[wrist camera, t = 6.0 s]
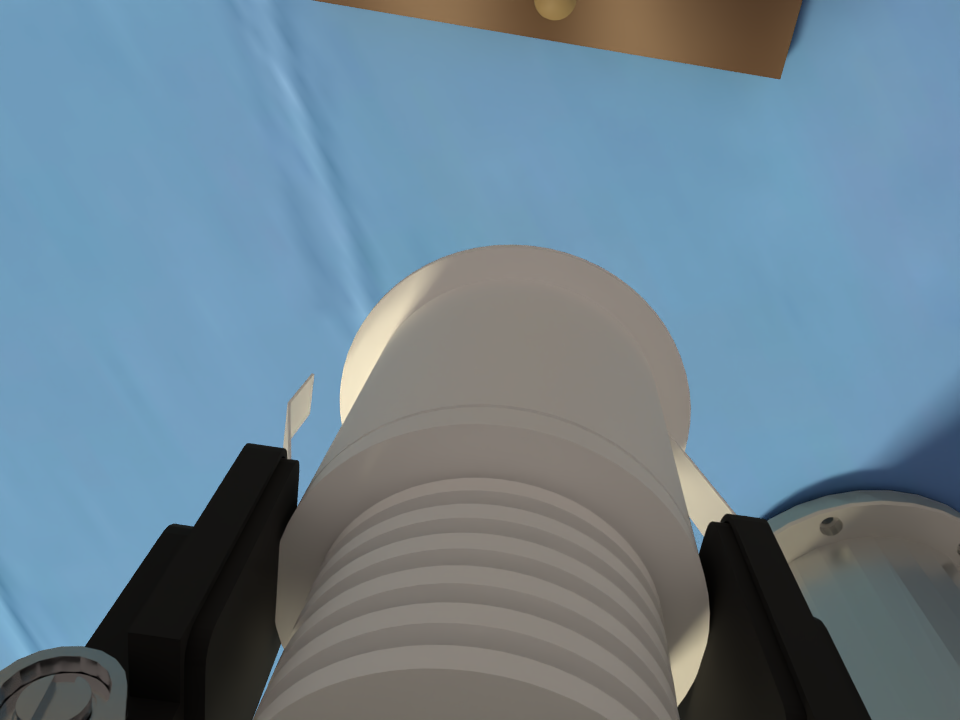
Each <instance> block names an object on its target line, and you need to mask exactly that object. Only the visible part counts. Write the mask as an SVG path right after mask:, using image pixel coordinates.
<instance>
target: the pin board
mask: <svg viewBox="0 0 960 720" xmlns="http://www.w3.org/2000/svg"><path fill="white" fill-rule="evenodd" d="M314 1H320V2H326V3H332V4H338V5H344V6H350V7H355V8H361V9H367V10H373V11H379V12H385V13H391V14H397V15H403V16H409V17H415V18H421V19H426V20H432V21H438V22H444V23H450V24H456V25H462V26H468V27H474V28H480V29H486V30H491V31H497V32H503V33H509V34H515V35H521V36H527V37H533V38H539V39H545V40H551V41H557V42H562V43H568V44H574V45H580V46H586V47H592V48H598V49H604V50H610V51H616V52H622V53H627V54H633V55H639V56H645V57H651V58H657V59H663V60H669V61H675V62H681V63H687V64H693V65H698V66H704V67H710V68H716V69H722V70H728V71H734V72H740V73H746V74H752V75H758V76H764V77H769V78H775V79H780V78H781V74H782V71H783V67H784V64H785V60H786V57H787V53H788V50H789V46H790V43H791V39H792V36H793V32H794V28H795V25H796V21H797V18H798V14H799V11H800V7H801V4H802V0H314Z"/></svg>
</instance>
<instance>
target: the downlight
mask: <svg viewBox="0 0 960 720" xmlns="http://www.w3.org/2000/svg"><path fill="white" fill-rule="evenodd" d="M313 381H314V374H311V375H310V376H309V378H308V379H307V380H306V381H305V383H304V384H303V385H302V386H301V387H300V389H299V390H298V391H297V392H296V393H295V395H294V396H293V397H292V398H291V399H290V401H289V402H288V406H287V416H286V425H285V435H284V445H283V448H285V449H286V450H287V459H291V438H292V437H293V436H294V434H295V433H296V432H297V430H298V429H299V428H300V426H301V425H302V424H303V422H304V421H305V420H306V418H307V417H308V416H309V414H310V407H311V398H312V389H313ZM690 411H691V405H690V393H689V386H688V381H687V376H686V372H685V369H684V366H683V363H682V359H681V357H680V354H679V352H678V349H677V347H676V345H675V343H674V340H673V339H672V337H671V335H670V333H669V332H668V330H667V328H666V326H665V325H664V323H663V322H662V321H661V319H660V318H659V316H658V315H657V314H656V312H655V311H654V310H653V309H652V308H651V307H650V306H649V304H648V303H647V302H646V301H645V300H644V299H643V298H642V297H641V296H640V295H639V294H638V293H637V292H635V291H634V290H633V289H632V288H631V287H630V286H629V285H627V284H626V283H624V282H623V281H622V280H620V279H619V278H618V277H616V276H615V275H613V274H611V273H610V272H608V271H606V270H605V269H603V268H601V267H599V266H597V265H595V264H593V263H591V262H589V261H587V260H585V259H582V258H579V257H576V256H574V255H571V254H568V253H565V252H561V251H557V250H553V249H549V248H542V247H536V246H526V245H493V246H486V247H479V248H473V249H469V250H465V251H461V252H457V253H454V254H451V255H448V256H446V257H443V258H440V259H438V260H436V261H434V262H431V263H429V264H427V265H425V266H423V267H422V268H420V269H418V270H417V271H415V272H413V273H412V274H410V275H409V276H407V277H406V278H405V279H403V280H402V281H400V282H399V283H398V284H397V285H395V286H394V287H393V288H392V289H391V290H390V291H389V292H388V293H387V294H386V295H384V297H383V298H382V299H381V300H380V301H379V302H378V303H377V305H376V306H375V307H374V308H373V309H372V311H371V312H370V314H369V315H368V316H367V318H366V319H365V321H364V322H363V324H362V325H361V327H360V329H359V331H358V333H357V334H356V336H355V338H354V340H353V343H352V345H351V347H350V350H349V352H348V355H347V359H346V362H345V365H344V369H343V375H342V380H341V390H340V414H341V421H342V426H341V428H340V430H339V432H338V434H337V435H336V437H335V439H334V441H333V443H332V444H331V446H330V448H329V450H328V452H327V454H326V455H325V457H324V459H323V461H322V463H321V465H320V466H319V468H318V470H317V472H316V474H315V476H314V477H313V479H312V481H311V483H310V485H309V487H308V488H307V490H306V492H305V494H304V496H303V497H302V499H301V501H300V503H299V505H298V507H297V508H296V510H295V512H294V514H293V515H292V517H291V519H290V521H289V522H288V524H287V526H286V529H285V531H284V533H283V536H282V538H281V540H280V546H279V563H278V580H277V597H276V614H275V624H276V628H277V631H278V634H279V638H280V641H281V644H282V646H283V648H284V651H283V653H282V655H281V657H280V660H279V662H278V664H277V666H276V668H275V671H274V673H273V675H272V677H271V680H270V682H269V684H268V687H267V690H266V692H265V694H264V696H263V698H262V700H261V702H260V704H259V707H258V709H257V711H256V713H255V716H254V718H253V720H680V717H679V713H678V709H677V707H678V705H679V704H680V703H681V701H682V700H683V699H684V697H685V696H686V694H687V692H688V691H689V689H690V687H691V686H692V684H693V682H694V680H695V678H696V675H697V673H698V670H699V667H700V664H701V660H702V657H703V654H704V651H705V648H706V645H707V640H708V634H709V620H710V609H709V596H708V591H707V586H706V581H705V576H704V572H703V569H702V565H701V561H700V558H699V554H698V550H697V546H696V542H695V538H694V534H693V530H692V526H691V522H690V518H691V519H692V521H693V522H694V524H695V525H696V526H697V528H698V529H699V530H700V532H701V533H702V534H703V536H704V535H705V532H706V529H707V526H708V525H709V523H710V522H712V521H714V522H720V521H721V519H722V517H723V516H724V515H725V514H734V515H736V514H735V513H734V511H733V510H732V509H731V508H730V506H729V505H728V504H727V503H726V502H725V500H724V499H723V498H722V497H721V495H720V494H719V493H718V492H717V491H716V489H715V488H714V487H713V486H712V484H711V483H710V482H709V481H708V480H707V478H706V477H705V476H704V475H703V473H702V472H701V471H700V470H699V469H698V467H697V466H696V465H695V464H694V462H693V461H692V460H691V459H690V458H689V456H688V455H687V454H686V453H685V447H686V444H687V440H688V434H689V427H690ZM689 517H690V518H689Z"/></svg>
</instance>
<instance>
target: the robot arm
mask: <svg viewBox="0 0 960 720" xmlns="http://www.w3.org/2000/svg"><path fill="white" fill-rule="evenodd" d="M298 482H299V461H298V460H292V459H287V450H286V449H285V448H278V447H272V446H265V445H258V444H251V443H247V444H246V445H245V446H244V448H243V449H242V451H241V452H240V454H239V456H238V457H237V459H236V460H235V462H234V463H233V465H232V467H231V468H230V470H229V471H228V473H227V475H226V476H225V478H224V479H223V481H222V483H221V484H220V486H219V487H218V489H217V491H216V492H215V494H214V495H213V497H212V498H211V500H210V502H209V503H208V505H207V506H206V508H205V510H204V511H203V513H202V514H201V516H200V518H199V519H198V521H197V522H196V524H195V526H194V527H193V526H186V525H179V524H172V525H169V526H168V527H167V528H166V529H165V530H164V531H163V533H162V534H161V536H160V537H159V539H158V540H157V541H156V543H155V544H154V546H153V547H152V549H151V550H150V552H149V553H148V555H147V556H146V558H145V559H144V561H143V562H142V564H141V565H140V566H139V568H138V569H137V571H136V572H135V574H134V575H133V577H132V578H131V580H130V581H129V583H128V584H127V586H126V587H125V588H124V590H123V591H122V593H121V594H120V596H119V597H118V599H117V600H116V602H115V603H114V605H113V606H112V608H111V609H110V611H109V612H108V613H107V615H106V616H105V618H104V619H103V621H102V622H101V624H100V625H99V627H98V628H97V630H96V631H95V633H94V634H93V635H92V637H91V638H90V640H89V641H88V643H87V644H86V646H85V647H83V646H71V647H57V648H52V649H47V650H42V651H38V652H36V653H33V654H31V655H29V656H26V657H24V658H21V659H19V660H17V661H15V662H14V663H12V664H11V665H9V666H8V667H6V668H5V669H3V670H1V671H0V720H252V719H253V717H254V714H255V711H256V709H257V706H258V703H259V701H260V698H261V695H262V693H263V690H264V687H265V685H266V682H267V679H268V677H269V674H270V671H271V669H272V666H273V664H274V661H275V658H276V656H277V653H278V650H279V648H280V645H281V641H280V638H279V634H278V631H277V628H276V624H275V614H276V597H277V580H278V563H279V546H280V540H281V538H282V536H283V533H284V531H285V529H286V526H287V524H288V522H289V521H290V519H291V517H292V515H293V514H294V512H295V510H296V508H297V498H298ZM699 558H700V561H701V565H702V569H703V572H704V576H705V581H706V586H707V591H708V596H709V609H710V620H709V634H708V640H707V645H706V648H705V651H704V654H703V657H702V660H701V664H700V667H699V670H698V673H697V675H696V678H695V680H694V682H693V684H692V686H691V687H690V689H689V691H688V692H687V694H686V696H685V697H684V699H683V700H682V701H681V703H680V704H679V705H678V707H677V709H678V713H679V717H680V720H960V513H959V512H958V511H956V510H954V509H952V508H951V507H949V506H947V505H946V504H943V503H940V502H937V501H934V500H932V499H929V498H926V497H923V496H920V495H916V494H909V493H903V492H897V491H891V490H857V491H851V492H845V493H839V494H833V495H827V496H824V497H821V498H818V499H815V500H811V501H808V502H805V503H802V504H799V505H796V506H794V507H793V508H791V509H789V510H787V511H785V512H783V513H781V514H779V515H777V516H775V517H773V518H771V519H769V520H768V521H767V520H765V519H761V518H754V517H748V516H741V515H734V514H725V515H724V516H723V517H722V519H721V521H720V522H714V521H712V522H710V523H709V525H708V526H707V529H706V532H705V535H704V539H703V542H702V545H701V549H700V552H699Z"/></svg>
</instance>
